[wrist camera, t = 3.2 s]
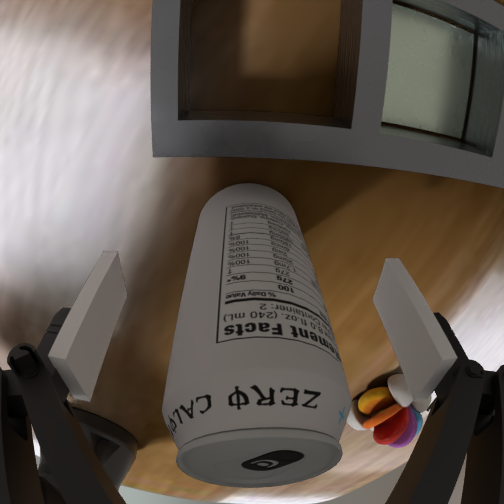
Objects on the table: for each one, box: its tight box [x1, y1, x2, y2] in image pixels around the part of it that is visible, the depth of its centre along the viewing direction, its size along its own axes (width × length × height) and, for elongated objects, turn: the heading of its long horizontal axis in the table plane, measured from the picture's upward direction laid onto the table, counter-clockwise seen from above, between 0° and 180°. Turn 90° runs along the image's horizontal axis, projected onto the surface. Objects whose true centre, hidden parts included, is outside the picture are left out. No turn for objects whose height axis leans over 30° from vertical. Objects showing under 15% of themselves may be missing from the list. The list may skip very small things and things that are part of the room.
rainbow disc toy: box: [347, 374, 431, 448], centre depth 30 cm, size 8×10×7 cm
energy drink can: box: [162, 183, 352, 488], centre depth 14 cm, size 6×6×15 cm
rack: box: [151, 0, 504, 188], centre depth 14 cm, size 30×12×4 cm, turn 87°
